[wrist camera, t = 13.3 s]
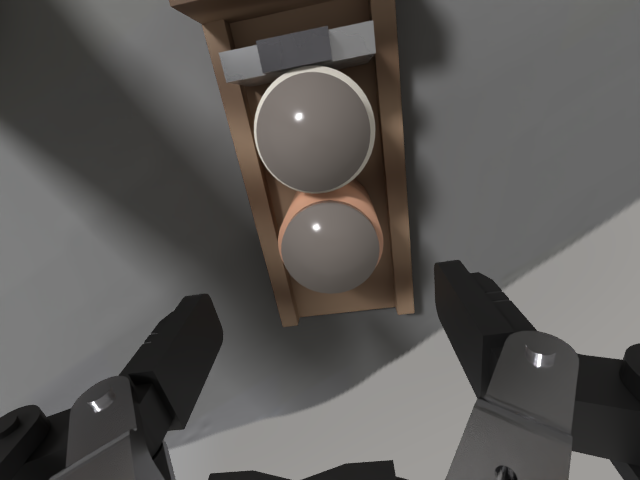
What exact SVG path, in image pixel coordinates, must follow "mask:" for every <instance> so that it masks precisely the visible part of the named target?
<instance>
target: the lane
mask: <svg viewBox="0 0 640 480" xmlns="http://www.w3.org/2000/svg"><path fill="white" fill-rule="evenodd" d="M169 2H170V6H171V7H173V8H174V9H176V10H178V11H180V12H181V13H183V14H185V15H187V16H188V17H190V18H192V19H194V20H196V21H197V22H199V23H201V24H202V27H203V30H204V34H205V38H206V42H207V45H208V49H209V53H210V57H211V60H212V64H213V68H214V72H215V75H216V79H217V83H218V86H219V90H220V94H221V98H222V101H223V105H224V109H225V113H226V116H227V120H228V124H229V128H230V131H231V135H232V139H233V142H234V146H235V150H236V154H237V157H238V161H239V165H240V169H241V172H242V176H243V180H244V184H245V187H246V191H247V195H248V199H249V202H250V206H251V210H252V213H253V217H254V221H255V225H256V228H257V232H258V236H259V240H260V243H261V247H262V251H263V255H264V258H265V262H266V266H267V270H268V273H269V277H270V281H271V284H272V288H273V292H274V296H275V299H276V303H277V307H278V311H279V314H280V318H281V322H282V326H283V327H288V326H298V323H299V317H307V316H316V315H325V314H334V313H344V312H353V311H362V310H371V309H380V308H389V307H396V310H397V313H398V315H401V314H411V313H414V298H413V281H412V265H411V249H410V233H409V217H408V201H407V185H406V169H405V152H404V136H403V120H402V104H401V88H400V72H399V56H398V40H397V23H396V7H395V0H169ZM372 20H373V25H374V36H375V48H376V53H375V55H374V56H373V57H372V58H371V60H370V61H369V62H368V63H367V64H363V65H358V66H353V67H348V68H343V69H338V70H337V71H340V72H342V73H343V74H345V75H346V76H348V77H350V78H351V79H352V80H353V81H354V82H355V83H356V84H357V85H358V86H359V87H360V88H361V89H362V91H363V92H364V94H365V95H366V97H367V99H368V101H369V103H370V105H371V108H372V111H373V115H374V120H375V141H374V146H373V149H372V153H371V155H370V157H369V160H368V162H367V163H366V165H365V167H364V168H363V169H362V171H361V172H360V173H359V174H358V175H357V176H356V177H355V178H354V179H355V180H357V181H358V182H359V183H360V184H362V186H363V187H364V188H365V189H366V191H367V192H368V194H369V196H370V198H371V201H372V204H373V207H374V210H375V212H376V215H377V218H378V221H379V224H380V227H381V230H382V234H383V252H382V255H381V258H380V261H379V263H378V265H377V266H376V268H375V269H374V271H373V272H372V274H371V275H370V276H369V278H368V279H367V280H366V281H364V282H363V283H362V284H361V285H359V286H357V287H356V288H354V289H351V290H349V291H346V292H342V293H333V294H329V293H320V292H316V291H313V290H310V289H308V288H306V287H304V286H302V285H301V284H300V283H298V282H297V281H296V280H295V279H294V278H293V277H292V276H291V275H290V274H289V272H288V270H287V269H286V267H285V265H284V263H283V261H282V259H281V256H280V253H279V248H278V236H279V231H280V227H281V225H282V223H283V220H284V218H285V216H286V214H287V211H288V209H289V207H290V205H291V202H292V200H293V198H294V196H295V194H296V192H297V191H296V190H294V189H292V188H289V187H288V186H286V185H284V184H282V183H281V182H280V181H278V180H277V179H276V178H275V177H274V176H273V175H272V174H271V173H270V172H269V171H268V169H267V168H266V167H265V165H264V163H263V162H262V160H261V158H260V156H259V153H258V150H257V147H256V143H255V138H254V120H255V114H256V111H257V107H258V105H259V102H260V100H261V98H262V96H263V95H264V93H265V91H266V90H267V89H268V87H269V86H270V85H271V84H272V83H273V82H272V83H266V84H261V85H256V86H251V87H250V86H243V85H237V84H231V83H226V79H225V76H224V72H223V68H222V64H221V60H220V56H219V53H220V52H225V51H230V50H234V49H239V48H244V47H249V46H253V45H257V44H256V41H258V40H262V39H267V38H272V37H276V36H281V35H286V34H291V33H295V32H300V31H305V30H309V29H314V28H319V27H324V26H328V30H329V29H334V28H339V27H343V26H348V25H353V24H358V23H362V22H367V21H372Z"/></svg>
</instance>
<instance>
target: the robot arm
mask: <svg viewBox="0 0 640 480" xmlns="http://www.w3.org/2000/svg"><path fill="white" fill-rule="evenodd" d="M434 279H435V303H436V310H437V314H438V317H439V319H440V322H441V324H442V326H443V328H444V330H445V332H446V334H447V336H448V338H449V340H450V342H451V344H452V347H453V349H454V351H455V353H456V355H457V357H458V359H459V361H460V363H461V365H462V367H463V369H464V371H465V374H466V376H467V378H468V380H469V382H470V384H471V386H472V388H473V390H474V392H475V394H476V396H477V401H476V403H475V405H474V408H473V410H472V413H471V415H470V418H469V420H468V423H467V426H466V428H465V431H464V433H463V436H462V438H461V441H460V444H459V446H458V449H457V451H456V454H455V456H454V459H453V462H452V464H451V467H450V469H449V472H448V474H447V477H446V479H445V480H568V478H569V468H570V459H571V451H575V452H580V453H584V454H588V455H593V456H597V457H602V458H606V459H610V461H611V462H612V464H613V465H614V466H615V468H616V469H617V471H618V472H619V474H620V475H621V476H622V478H623V479H624V480H640V344H635V345H633V346H630V347H629V348H628V349H627V350H626V352H625V355H624V358H623V360H619V359H611V358H603V357H595V356H586V355H581V354H577V353H576V352H575V351H574V349H573V348H572V347H571V346H570V345H568V344H567V343H565V342H564V341H563V340H561V339H559V338H557V337H555V336H553V335H550V334H547V333H543V332H539V331H537V330H536V329H535V328H534V327H533V325H532V324H531V323H530V322H529V321H528V320H527V319H526V317H525V316H524V315H523V314H522V313H521V312H520V311H519V309H518V308H517V307H516V306H515V305H514V304H513V303H512V301H509V298H508V297H507V296H506V295H505V293H504V292H502V290H501V289H500V288H499V287H498V285H497V284H496V283H495V282H494V281H493V280H492V279H490V278H488V277H486V276H485V275H483V274H481V273H479V272H477V273H469V272H468V270H467V269H466V268H465V266H464V265H463V264H462V263H461V261H460V260H453V261H446V262H439V263H435V266H434ZM222 342H223V330H222V326H221V323H220V321H219V318H218V316H217V313H216V310H215V308H214V305H213V303H212V300H211V298H210V296H209V295H208V294H199V295H192V296H186V297H184V298H183V299H182V301H181V302H180V303H179V305H178V306H177V307H176V309H175V310H174V312H171V313H170V314H169V315H168V316H166V317H165V318H164V319H163V320H161V321H160V322H159V323H158V325H157V326H156V327H155V329H154V330H153V331H152V332H151V335H149V336H148V338H147V339H146V340H145V342H144V344H142V346H141V347H140V348H139V350H138V351H137V352H136V353H135V355H134V356H133V357H132V359H131V360H130V361H129V363H128V364H127V365H126V367H125V368H124V369H123V371H122V372H121V373H120V374H119V376H114V377H110V378H107V379H105V380H102V381H100V382H99V383H97V384H95V385H94V386H92V387H91V388H89V389H88V390H87V391H85V392H84V393H83V394H82V395H81V396H80V397H79V398H78V399H77V400H76V402H75V403H74V405H73V406H72V408H71V409H68V410H65V411H62V412H60V413H57V414H54V415H51V416H48V417H46V416H45V414H44V413H43V412H42V411H41V409H40V408H39V407H38V406H36V405H28V406H24V407H21V408H18V409H16V410H13V411H11V412H9V413H7V414H6V415H4V416H2V417H1V418H0V480H176V479H175V475H174V471H173V467H172V463H171V459H170V455H169V451H168V447H167V444H166V442H165V441H164V437H165V435H166V433H167V431H171V430H182V429H185V426H186V424H187V422H188V420H189V417H190V415H191V413H192V411H193V408H194V406H195V404H196V402H197V399H198V397H199V395H200V393H201V390H202V388H203V386H204V384H205V381H206V379H207V377H208V374H209V372H210V370H211V368H212V365H213V363H214V361H215V359H216V356H217V354H218V352H219V350H220V347H221V345H222ZM208 480H290V479H286V478H282V477H278V476H273V475H269V474H265V473H261V472H257V471H239V472H226V473H212V474H210V475H209V479H208ZM303 480H407V479H404V478H399V477H396V476H395V470H394V464H393V460H389V461H376V462H362V463H348V464H344V465H341V466H338V467H335V468H333V469H330V470H327V471H324V472H322V473H319V474H316V475H313V476H311V477H308V478H305V479H303Z"/></svg>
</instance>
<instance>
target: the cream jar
mask: <svg viewBox="0 0 640 480" xmlns="http://www.w3.org/2000/svg"><path fill="white" fill-rule="evenodd" d="M254 138H255V143H256V147H257V150H258V153H259V156H260V158H261V160H262V162H263V163H264V165H265V167H266V168H267V169H268V171H269V172H270V173H271V174H272V175H273V176H274V177H275V178H276V179H277V180H278V181H280V182H281V183H282V184H284V185H286V186H288V187H289V188H292V189H294V190H296V191H300V192H304V193H311V194H319V193H327V192H331V191H334V190H336V189H339V188H341V187H343V186H345V185H346V184H348V183H349V182H351V181H352V180H353V179H354V178H355V177H356V176H357V175H358V174H359V173H360V172H361V171H362V169H363V168H364V167H365V165H366V163H367V162H368V160H369V157H370V155H371V153H372V149H373V146H374V141H375V120H374V115H373V111H372V108H371V105H370V103H369V101H368V99H367V97H366V95H365V94H364V92H363V91H362V89H361V88H360V87H359V86H358V85H357V84H356V83H355V82H354V81H353V80H352V79H351V78H350V77H348V76H346V75H345V74H343V73H342V72H340V71H337V70H335V69H332V68H329V67H325V66H304V67H299V68H296V69H293V70H291V71H289V72H287V73H285V74H283V75H282V76H280V77H279V78H277V79H276V80H275V81H274V82H273V83H272V84H271V85H270V86H269V87H268V89H267V90H266V91H265V93H264V95H263V96H262V98H261V100H260V102H259V105H258V107H257V111H256V114H255V120H254Z"/></svg>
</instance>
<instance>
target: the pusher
mask: <svg viewBox="0 0 640 480" xmlns="http://www.w3.org/2000/svg"><path fill="white" fill-rule="evenodd" d="M256 44H257V45H253V46H249V47H244V48H239V49H234V50H230V51H225V52H220V53H219V56H220V60H221V64H222V68H223V72H224V76H225V79H226V83H231V84H237V85H243V86H250V87H251V86H256V85H261V84H266V83H272V82H274V81H275V80H276V79H277V78H279V77H280V76H282V75H283V74H285V73H287V72H289V71H291V70H293V69H296V68H299V67H304V66H325V67H329V68H332V69H335V70H338V69H343V68H348V67H353V66H358V65H363V64H367V63H368V62H369V61H370V60H371V58H372V57H373V56H374V55H375V53H376V48H375V36H374V25H373V20H372V21H367V22H362V23H358V24H353V25H348V26H343V27H339V28H334V29H329V30H328V26H324V27H319V28H314V29H309V30H305V31H300V32H295V33H291V34H286V35H281V36H276V37H272V38H267V39H262V40H258V41H256Z"/></svg>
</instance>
